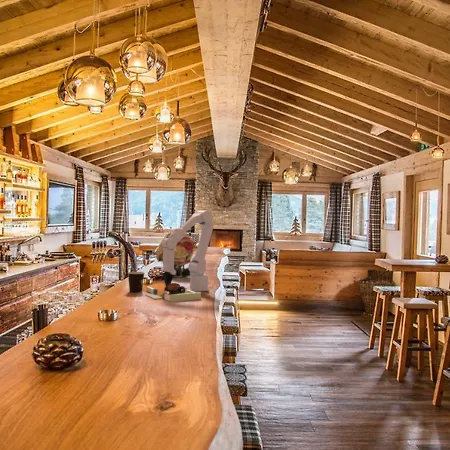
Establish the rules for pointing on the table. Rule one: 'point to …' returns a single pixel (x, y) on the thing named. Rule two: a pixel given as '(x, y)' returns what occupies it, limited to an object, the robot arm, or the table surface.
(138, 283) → the coffee mug
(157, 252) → the rose bouquet
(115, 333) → the table surface
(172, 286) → the pottery mug
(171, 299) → the lane
